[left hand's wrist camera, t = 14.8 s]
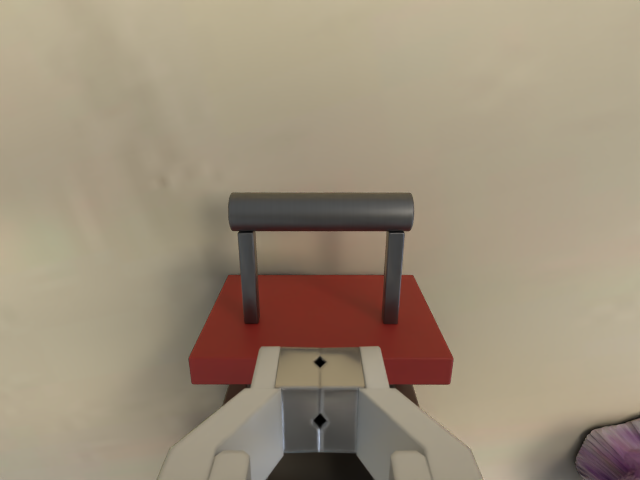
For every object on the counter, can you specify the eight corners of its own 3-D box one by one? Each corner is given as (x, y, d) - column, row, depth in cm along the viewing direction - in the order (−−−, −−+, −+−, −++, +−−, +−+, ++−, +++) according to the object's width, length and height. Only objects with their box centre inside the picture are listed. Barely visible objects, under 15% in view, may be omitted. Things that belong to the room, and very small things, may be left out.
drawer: (219, 169, 20) (168, 212, 13) (422, 169, 20) (473, 213, 13) (246, 496, 27) (222, 629, 21) (394, 496, 27) (418, 629, 21)
